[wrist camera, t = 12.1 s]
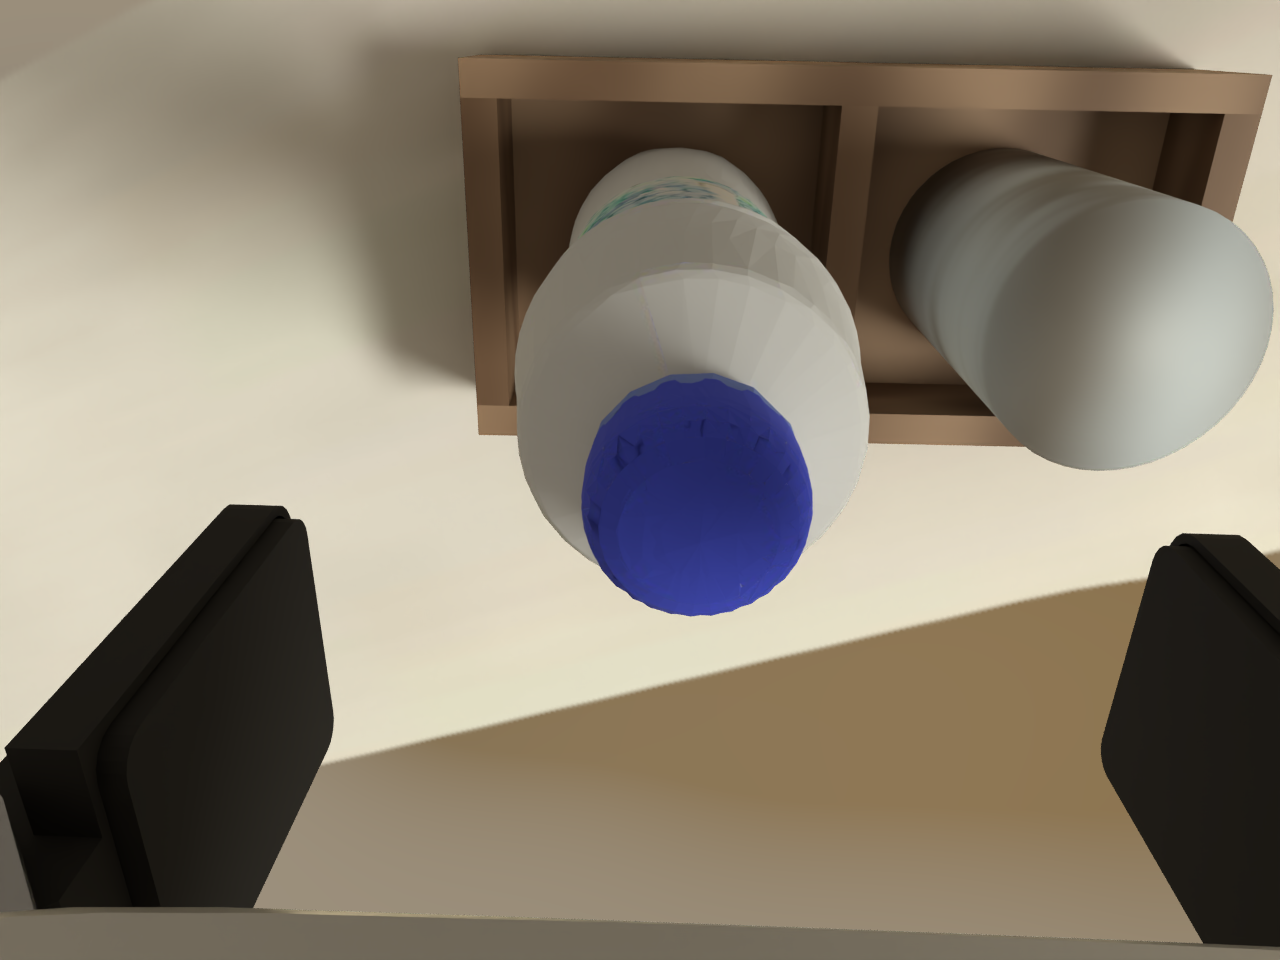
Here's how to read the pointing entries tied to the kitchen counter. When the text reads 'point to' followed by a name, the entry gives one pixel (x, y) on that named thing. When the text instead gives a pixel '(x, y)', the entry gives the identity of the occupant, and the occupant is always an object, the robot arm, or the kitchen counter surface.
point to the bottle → (689, 387)
